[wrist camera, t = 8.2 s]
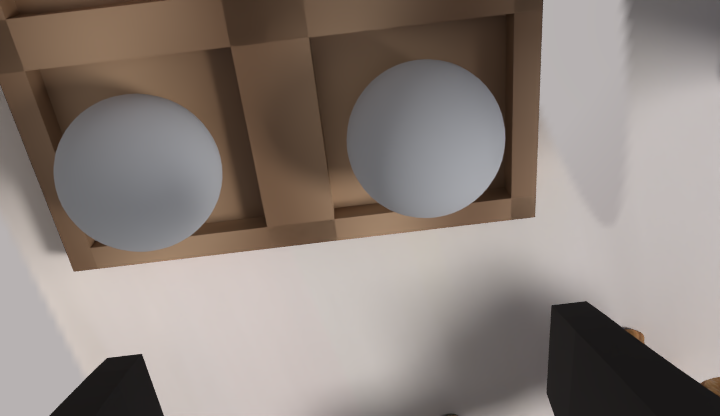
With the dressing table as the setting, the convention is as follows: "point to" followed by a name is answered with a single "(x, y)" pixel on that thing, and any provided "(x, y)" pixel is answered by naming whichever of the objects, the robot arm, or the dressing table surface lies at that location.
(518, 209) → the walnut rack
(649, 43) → the dressing table surface
